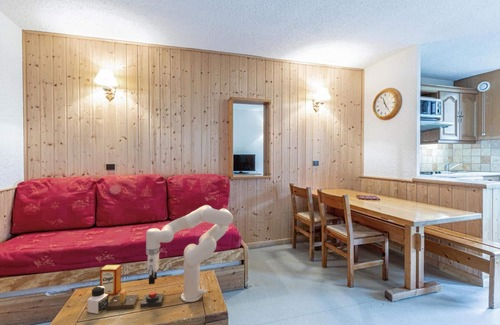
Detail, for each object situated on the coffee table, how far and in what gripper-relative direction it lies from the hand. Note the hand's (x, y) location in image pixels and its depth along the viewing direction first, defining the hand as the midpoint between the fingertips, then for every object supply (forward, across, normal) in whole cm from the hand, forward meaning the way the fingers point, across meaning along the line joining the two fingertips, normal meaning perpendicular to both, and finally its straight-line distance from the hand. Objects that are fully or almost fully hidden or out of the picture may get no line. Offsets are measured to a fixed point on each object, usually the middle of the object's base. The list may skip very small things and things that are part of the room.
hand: (152, 281), depth 145 cm
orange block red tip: (+10, 0, +16) cm, 19 cm away
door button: (+9, 0, 0) cm, 9 cm away
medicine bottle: (+13, -3, +28) cm, 31 cm away
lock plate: (+12, 0, +16) cm, 20 cm away
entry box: (+12, 0, 0) cm, 12 cm away
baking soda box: (+13, +15, +28) cm, 34 cm away
